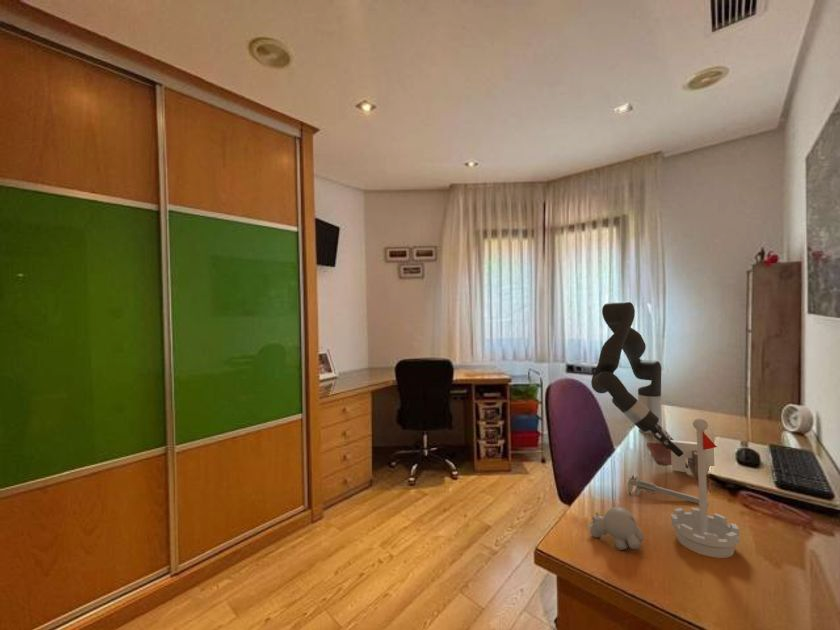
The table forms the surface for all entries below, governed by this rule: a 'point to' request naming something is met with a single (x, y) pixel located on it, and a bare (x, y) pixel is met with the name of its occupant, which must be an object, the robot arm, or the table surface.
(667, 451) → the wooden tablet
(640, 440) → the table surface
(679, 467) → the white notched plate
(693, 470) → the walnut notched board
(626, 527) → the chubby cartoon animal
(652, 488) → the caliper
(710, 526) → the flag stand
